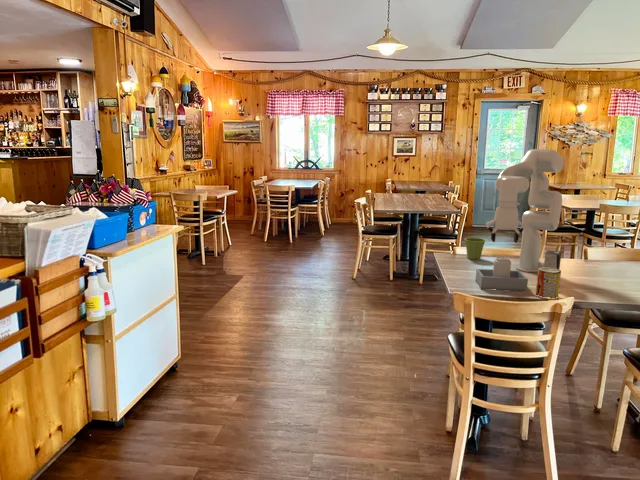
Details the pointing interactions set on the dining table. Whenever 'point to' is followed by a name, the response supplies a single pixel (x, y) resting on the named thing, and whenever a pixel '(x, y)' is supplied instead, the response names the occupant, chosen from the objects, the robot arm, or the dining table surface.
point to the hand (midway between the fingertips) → (504, 241)
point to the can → (502, 267)
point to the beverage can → (548, 282)
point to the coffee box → (552, 259)
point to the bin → (501, 280)
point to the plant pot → (474, 247)
